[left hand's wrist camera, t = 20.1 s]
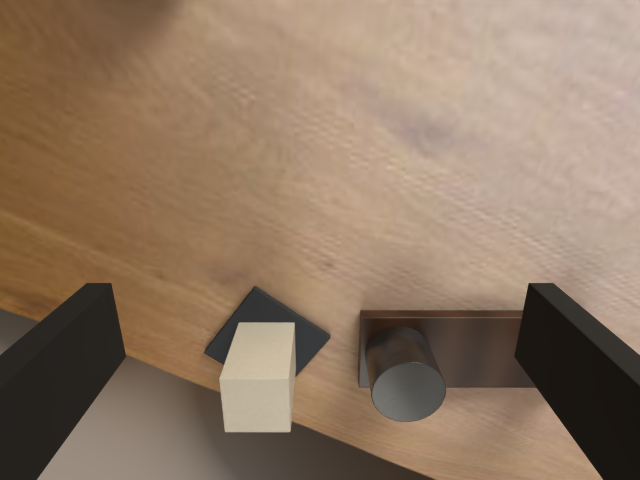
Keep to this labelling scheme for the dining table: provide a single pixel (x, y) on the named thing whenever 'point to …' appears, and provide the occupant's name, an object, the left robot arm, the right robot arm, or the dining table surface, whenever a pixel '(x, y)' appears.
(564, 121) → the dining table surface
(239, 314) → the coaster
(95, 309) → the left robot arm
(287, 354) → the cream rectangular block
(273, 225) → the dining table surface
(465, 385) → the stand
